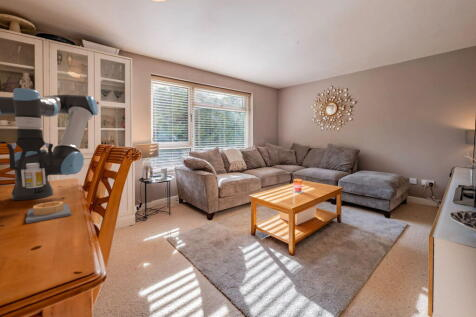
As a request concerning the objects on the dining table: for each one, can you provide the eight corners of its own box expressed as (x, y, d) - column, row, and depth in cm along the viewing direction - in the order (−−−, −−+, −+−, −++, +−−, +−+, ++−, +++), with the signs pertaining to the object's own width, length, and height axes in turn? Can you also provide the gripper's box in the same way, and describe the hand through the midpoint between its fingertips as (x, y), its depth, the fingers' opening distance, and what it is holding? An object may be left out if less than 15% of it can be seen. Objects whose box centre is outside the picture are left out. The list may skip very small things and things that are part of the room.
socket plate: (28, 211, 83) (27, 203, 82) (67, 205, 91) (67, 197, 91) (26, 223, 71) (25, 213, 71) (71, 215, 79) (70, 206, 79)
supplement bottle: (43, 184, 91) (41, 162, 90) (43, 186, 87) (41, 163, 86) (25, 186, 87) (23, 163, 86) (25, 189, 84) (23, 164, 83)
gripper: (-7, 127, 76) (0, 190, 78) (60, 129, 88) (64, 183, 91) (-4, 127, 81) (2, 186, 84) (59, 129, 94) (62, 180, 96)
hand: (34, 184), depth 87 cm, fingers closed on supplement bottle, 5 cm apart
